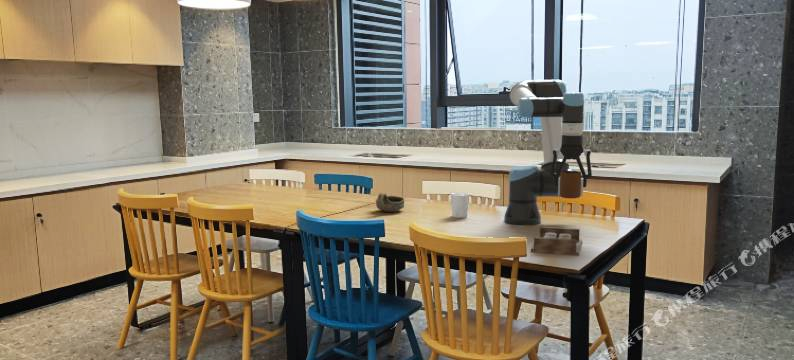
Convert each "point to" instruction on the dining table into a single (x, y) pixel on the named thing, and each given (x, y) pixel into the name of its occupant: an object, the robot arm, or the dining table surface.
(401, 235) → the dining table surface
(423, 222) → the dining table surface
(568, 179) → the mug
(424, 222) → the dining table surface
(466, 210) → the white cup
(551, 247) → the peg stand
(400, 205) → the bowl
